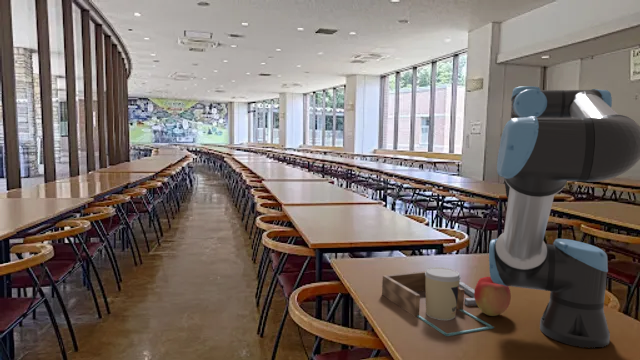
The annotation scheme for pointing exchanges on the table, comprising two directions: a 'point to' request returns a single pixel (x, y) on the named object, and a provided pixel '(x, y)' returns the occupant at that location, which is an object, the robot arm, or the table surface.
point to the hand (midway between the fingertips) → (517, 222)
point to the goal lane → (460, 331)
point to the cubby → (410, 291)
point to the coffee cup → (441, 293)
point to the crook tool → (469, 292)
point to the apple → (491, 296)
